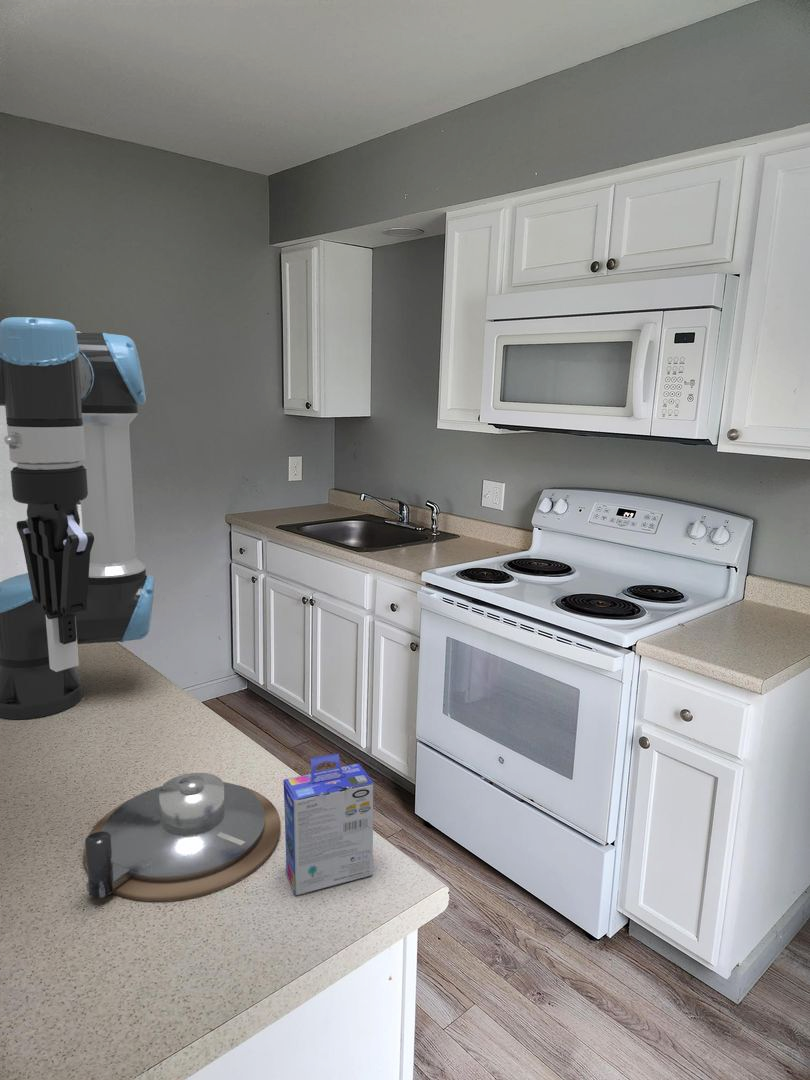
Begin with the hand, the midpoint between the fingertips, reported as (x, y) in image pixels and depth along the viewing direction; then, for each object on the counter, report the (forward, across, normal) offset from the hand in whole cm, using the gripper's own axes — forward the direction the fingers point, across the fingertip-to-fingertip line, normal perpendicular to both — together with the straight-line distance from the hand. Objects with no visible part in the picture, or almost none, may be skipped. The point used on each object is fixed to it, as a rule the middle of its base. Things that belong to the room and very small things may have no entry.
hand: (64, 666), depth 85 cm
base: (+24, +7, +10) cm, 27 cm away
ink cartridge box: (+25, +26, +17) cm, 40 cm away
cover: (+22, +7, +12) cm, 26 cm away
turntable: (+23, +8, +8) cm, 26 cm away
